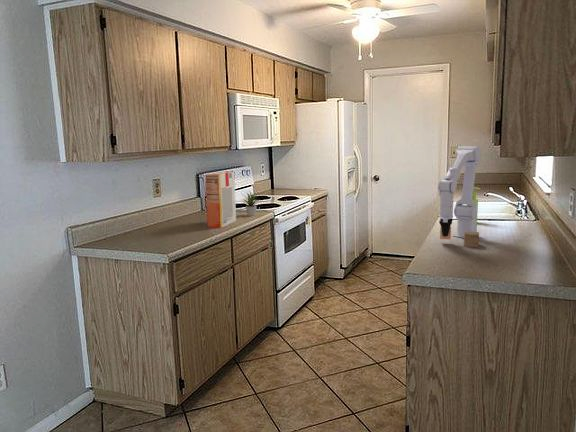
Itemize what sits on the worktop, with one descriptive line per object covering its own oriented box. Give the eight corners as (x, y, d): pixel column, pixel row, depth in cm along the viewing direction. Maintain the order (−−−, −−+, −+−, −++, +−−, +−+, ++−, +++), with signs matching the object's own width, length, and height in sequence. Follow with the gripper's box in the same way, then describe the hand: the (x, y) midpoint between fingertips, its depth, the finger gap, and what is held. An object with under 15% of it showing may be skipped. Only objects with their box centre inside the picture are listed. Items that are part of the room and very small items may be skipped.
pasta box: (223, 220, 297) (221, 171, 292) (236, 220, 294) (234, 171, 289) (207, 227, 275) (205, 174, 270) (220, 227, 273) (218, 174, 268)
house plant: (268, 214, 313) (268, 189, 310) (254, 218, 302) (253, 192, 299) (252, 213, 321) (251, 188, 319) (238, 216, 311) (237, 190, 308)
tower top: (464, 237, 223) (464, 231, 223) (478, 238, 221) (478, 231, 221) (464, 240, 218) (464, 233, 217) (478, 241, 216) (479, 234, 215)
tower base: (464, 243, 224) (464, 237, 223) (478, 244, 222) (478, 238, 221) (464, 246, 218) (464, 240, 218) (478, 247, 216) (478, 241, 216)
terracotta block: (440, 236, 226) (440, 226, 225) (450, 237, 225) (451, 226, 224) (440, 238, 222) (440, 228, 221) (450, 239, 220) (450, 228, 220)
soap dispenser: (475, 224, 269) (477, 188, 266) (464, 222, 274) (465, 187, 271) (480, 222, 273) (482, 187, 270) (469, 221, 278) (470, 186, 275)
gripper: (438, 203, 229) (437, 231, 231) (436, 208, 215) (435, 237, 218) (454, 203, 226) (453, 232, 229) (453, 208, 213) (451, 238, 215)
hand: (445, 235), depth 223 cm, fingers closed on terracotta block, 4 cm apart
